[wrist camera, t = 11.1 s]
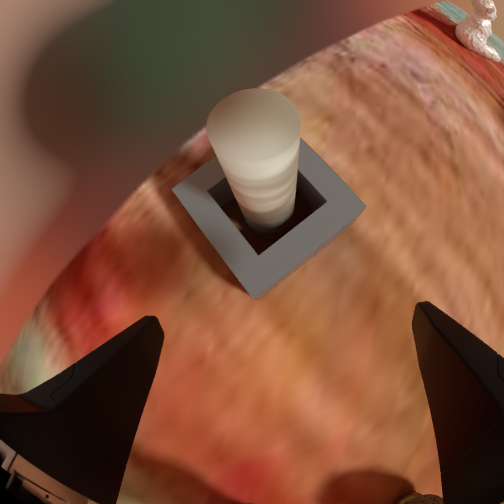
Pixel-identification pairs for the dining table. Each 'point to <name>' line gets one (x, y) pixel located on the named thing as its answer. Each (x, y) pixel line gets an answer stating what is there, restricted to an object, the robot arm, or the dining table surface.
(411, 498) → the cup
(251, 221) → the peg
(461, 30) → the sitting furry creature
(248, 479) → the dining table surface
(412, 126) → the dining table surface
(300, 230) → the socket block
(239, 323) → the dining table surface
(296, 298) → the dining table surface
